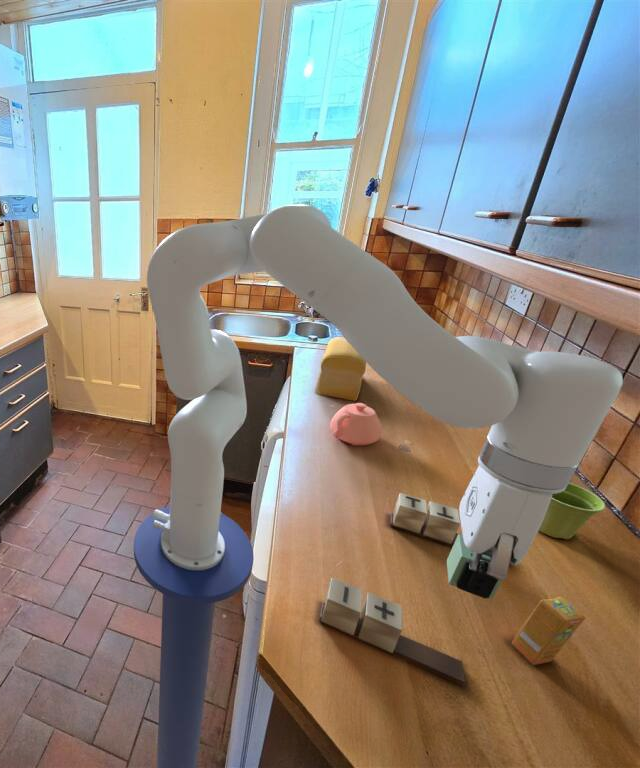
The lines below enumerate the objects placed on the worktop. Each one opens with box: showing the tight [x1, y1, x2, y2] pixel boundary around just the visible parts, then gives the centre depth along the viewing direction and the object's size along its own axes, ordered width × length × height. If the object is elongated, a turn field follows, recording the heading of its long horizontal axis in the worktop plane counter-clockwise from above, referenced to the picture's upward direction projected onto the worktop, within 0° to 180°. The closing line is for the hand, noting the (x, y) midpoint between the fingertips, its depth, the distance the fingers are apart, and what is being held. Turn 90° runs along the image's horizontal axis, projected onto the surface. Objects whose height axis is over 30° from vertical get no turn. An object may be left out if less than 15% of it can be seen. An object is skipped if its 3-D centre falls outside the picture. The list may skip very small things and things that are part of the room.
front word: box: [318, 577, 466, 687], centre depth 59 cm, size 18×4×6 cm, turn 58°
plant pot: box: [538, 482, 606, 540], centre depth 78 cm, size 9×9×9 cm
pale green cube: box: [446, 533, 503, 601], centre depth 52 cm, size 4×4×5 cm
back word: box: [389, 492, 463, 547], centre depth 77 cm, size 18×4×6 cm, turn 58°
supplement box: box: [511, 596, 586, 666], centre depth 56 cm, size 3×3×10 cm
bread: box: [316, 336, 367, 402], centre depth 140 cm, size 24×13×15 cm, turn 150°
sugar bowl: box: [329, 402, 382, 447], centre depth 109 cm, size 12×14×10 cm
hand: (469, 576), depth 53 cm, fingers closed on pale green cube, 4 cm apart
